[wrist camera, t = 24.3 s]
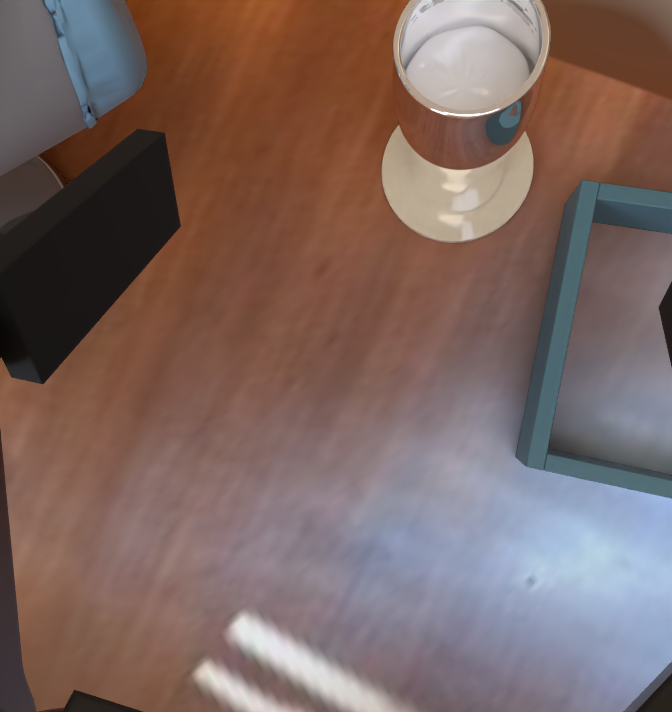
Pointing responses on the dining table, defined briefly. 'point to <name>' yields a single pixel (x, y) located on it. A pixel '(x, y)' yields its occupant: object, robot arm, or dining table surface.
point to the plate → (455, 224)
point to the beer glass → (466, 91)
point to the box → (579, 213)
